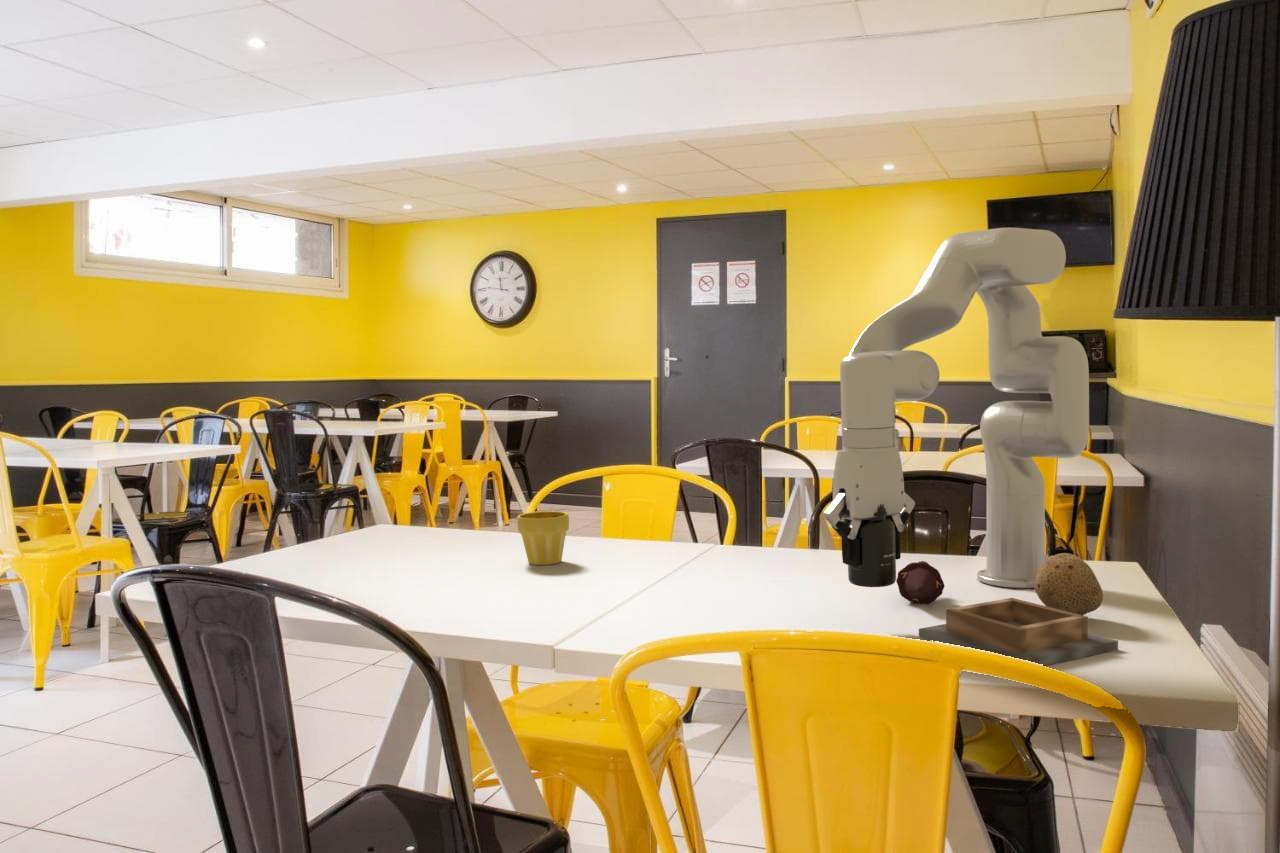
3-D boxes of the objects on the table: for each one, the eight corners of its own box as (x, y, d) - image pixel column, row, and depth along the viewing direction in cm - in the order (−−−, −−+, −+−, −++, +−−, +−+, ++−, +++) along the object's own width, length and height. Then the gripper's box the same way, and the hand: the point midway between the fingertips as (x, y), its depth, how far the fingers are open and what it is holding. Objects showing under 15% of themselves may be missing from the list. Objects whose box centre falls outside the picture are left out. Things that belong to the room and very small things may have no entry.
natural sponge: (1022, 613, 149) (1022, 548, 149) (1077, 610, 150) (1078, 546, 150) (1052, 628, 140) (1052, 560, 140) (1111, 626, 141) (1112, 557, 141)
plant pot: (509, 566, 194) (507, 517, 194) (533, 556, 204) (531, 509, 203) (556, 568, 191) (554, 519, 190) (578, 558, 200) (577, 511, 200)
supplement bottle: (897, 588, 139) (895, 504, 138) (848, 588, 140) (846, 505, 139) (895, 577, 145) (893, 497, 144) (848, 576, 147) (845, 497, 146)
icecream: (950, 574, 149) (947, 563, 163) (901, 560, 151) (903, 551, 165) (938, 618, 149) (936, 603, 163) (890, 603, 151) (892, 590, 165)
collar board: (1010, 619, 146) (1010, 592, 145) (1117, 649, 130) (1118, 618, 129) (918, 637, 138) (918, 607, 137) (1021, 671, 122) (1021, 637, 121)
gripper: (897, 433, 148) (899, 549, 150) (803, 442, 140) (807, 565, 142) (932, 436, 142) (935, 557, 143) (837, 446, 134) (840, 574, 135)
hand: (871, 560), depth 142 cm, fingers closed on supplement bottle, 6 cm apart
